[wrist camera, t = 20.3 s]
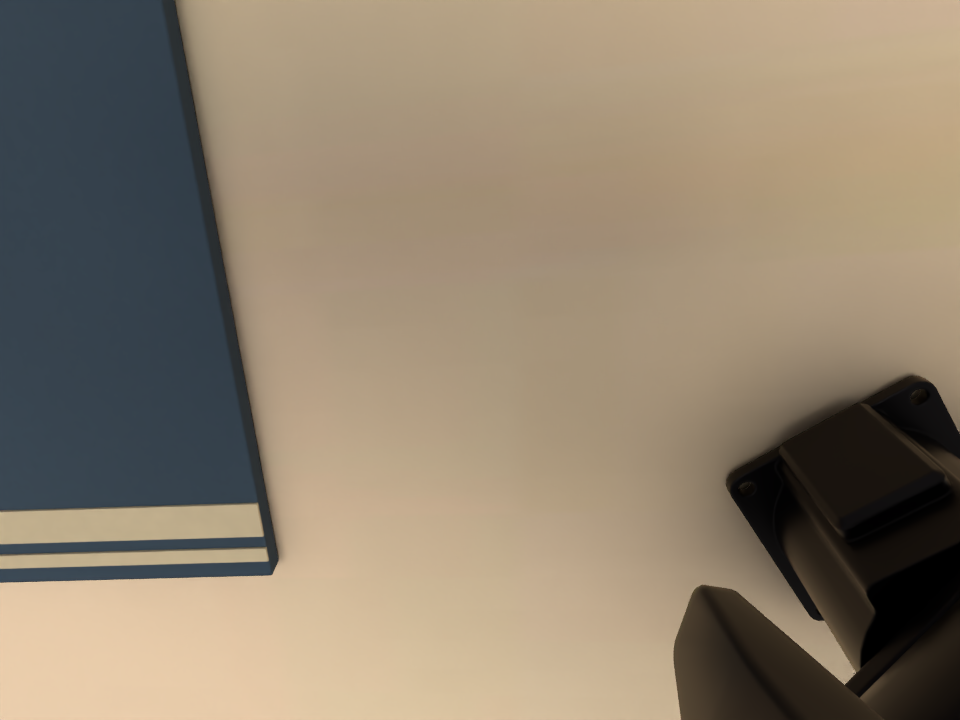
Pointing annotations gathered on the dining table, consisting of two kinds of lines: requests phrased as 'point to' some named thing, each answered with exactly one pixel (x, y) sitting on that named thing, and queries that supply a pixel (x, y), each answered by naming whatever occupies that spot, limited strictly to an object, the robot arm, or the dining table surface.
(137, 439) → the towel
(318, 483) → the dining table surface
